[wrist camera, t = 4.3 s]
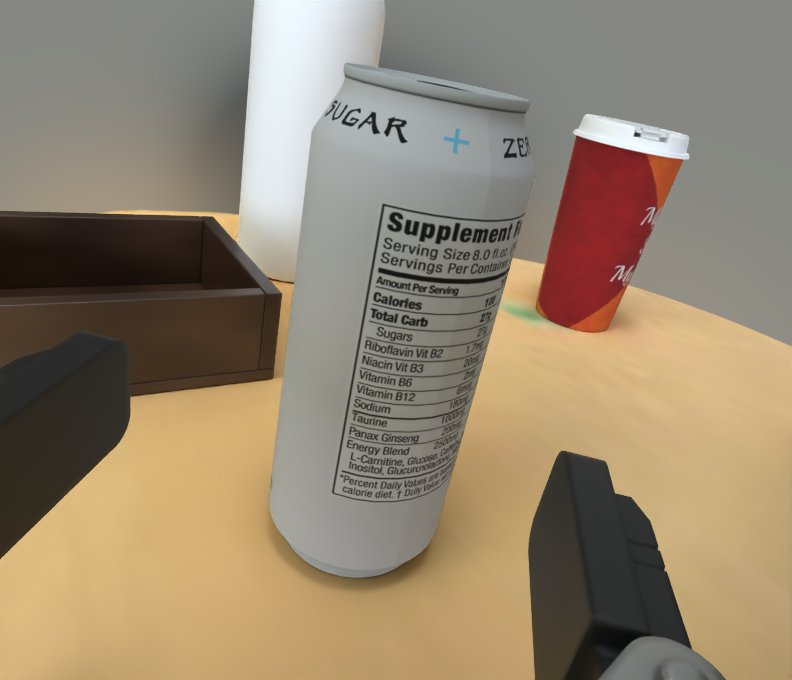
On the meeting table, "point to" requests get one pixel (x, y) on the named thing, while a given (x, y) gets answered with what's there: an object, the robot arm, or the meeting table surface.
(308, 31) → the bottle
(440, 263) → the energy drink can
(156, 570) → the meeting table surface
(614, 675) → the robot arm
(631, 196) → the paper cup
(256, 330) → the walnut box
